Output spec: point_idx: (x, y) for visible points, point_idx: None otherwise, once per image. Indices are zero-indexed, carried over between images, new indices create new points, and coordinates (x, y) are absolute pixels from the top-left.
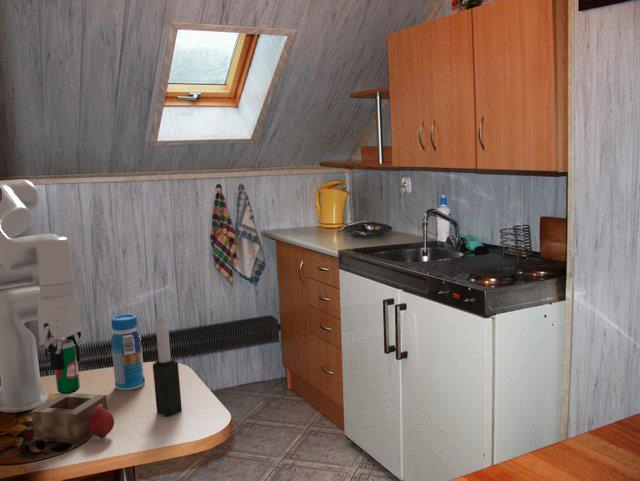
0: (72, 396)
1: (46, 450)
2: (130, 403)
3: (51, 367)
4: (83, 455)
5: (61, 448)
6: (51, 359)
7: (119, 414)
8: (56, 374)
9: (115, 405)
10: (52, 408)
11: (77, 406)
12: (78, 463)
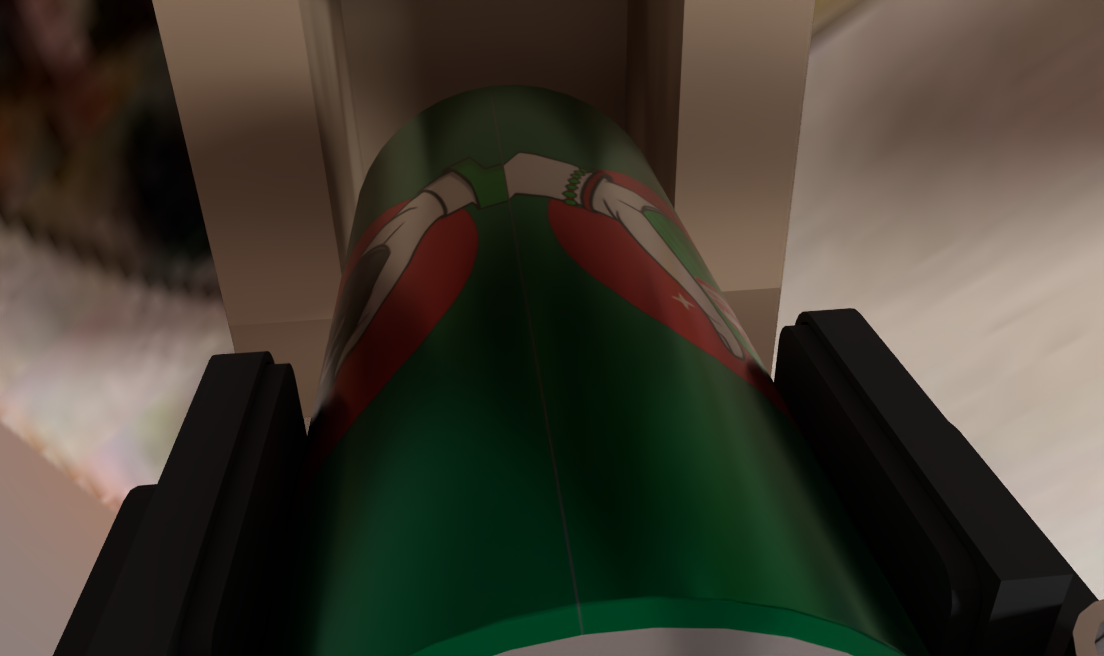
0: (700, 33)
1: (94, 106)
2: (1089, 181)
3: (209, 380)
4: (160, 424)
5: (178, 204)
6: (76, 631)
7: (856, 234)
8: (340, 305)
9: (1059, 76)
10: (296, 58)
11: (655, 76)
12: (57, 465)
